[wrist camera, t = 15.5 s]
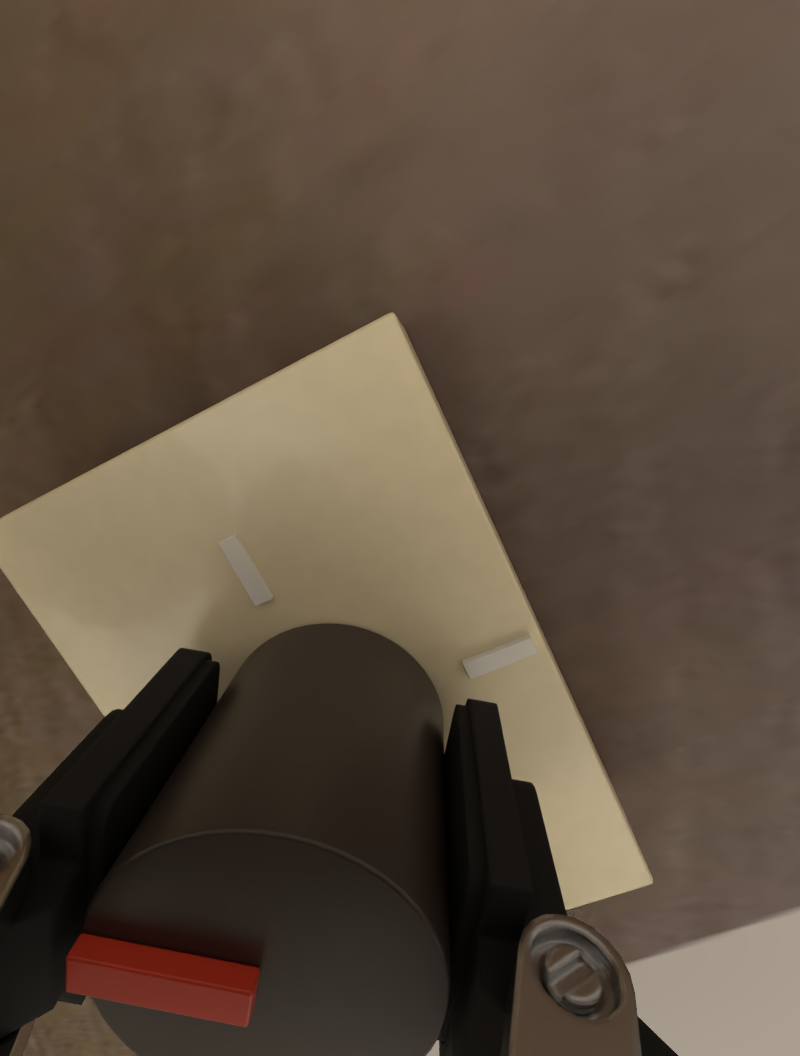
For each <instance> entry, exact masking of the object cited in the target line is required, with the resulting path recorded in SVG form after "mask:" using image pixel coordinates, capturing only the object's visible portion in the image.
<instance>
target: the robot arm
mask: <svg viewBox="0 0 800 1056" xmlns="http://www.w3.org/2000/svg"><path fill="white" fill-rule="evenodd" d="M219 674H220V664H219V662H216V661H212V656H211V654H210V653H209V652H204V651H198V650H192V649H187V648H180V649H178V650H177V651H176V652H175V653H174V655H173V656H172V657H171V658H170V659H169V660H168V661H167V662H166V663H165V664H164V666H163V667H162V668H161V669H160V670H159V671H158V672H157V673H156V674H155V675H154V677H153V678H152V679H151V680H150V681H149V682H148V683H147V684H146V685H145V686H144V688H143V689H142V690H141V691H140V692H139V693H138V694H137V695H136V696H135V697H134V699H133V700H132V701H131V702H130V703H129V704H128V705H127V706H126V707H125V709H124V710H122V709H115V710H112V711H111V712H110V713H109V714H108V715H106V716H105V717H104V718H103V720H102V721H101V722H100V723H99V724H98V725H97V726H96V727H95V728H94V729H93V730H92V731H91V732H90V733H89V734H88V735H87V737H86V738H85V739H84V740H83V741H82V742H81V743H80V744H79V745H78V746H77V747H76V748H75V749H74V750H73V751H72V752H71V754H70V755H69V756H68V757H67V758H66V759H65V760H64V761H63V762H62V763H61V764H60V765H59V766H58V767H57V768H56V769H55V770H54V772H53V773H52V774H51V775H50V776H49V777H48V778H47V779H46V780H45V781H44V782H43V783H42V784H41V785H40V786H39V787H38V789H37V790H36V791H35V792H34V793H33V794H32V795H31V796H30V797H29V798H28V799H27V800H26V801H25V802H24V803H23V804H22V806H21V807H20V808H19V809H18V810H17V811H16V812H15V813H14V814H13V815H12V816H11V815H5V814H0V1056H22V1055H23V1052H24V1050H25V1047H26V1045H27V1042H28V1039H29V1037H30V1034H31V1032H32V1029H33V1026H34V1021H35V1019H36V1018H38V1017H40V1016H41V1015H43V1014H45V1013H47V1012H48V1011H50V1010H52V1009H53V1008H54V1006H55V1005H56V1003H57V1001H62V1002H68V1003H73V1004H79V1005H82V1003H83V1001H84V999H85V997H86V996H84V995H79V994H74V993H69V992H67V991H66V990H65V980H66V956H67V955H68V953H69V951H70V950H71V948H72V947H73V945H74V943H75V942H76V940H77V939H78V937H79V935H80V934H81V927H82V923H83V920H84V916H85V913H86V910H87V907H88V905H89V903H90V901H91V899H92V897H93V896H94V894H95V892H96V890H97V889H98V887H99V885H100V884H101V882H102V881H103V879H104V878H105V876H106V875H107V873H108V872H109V870H110V868H111V867H112V865H113V864H114V862H115V861H116V859H117V858H118V856H119V854H120V853H121V851H122V850H123V848H124V847H125V845H126V844H127V842H128V841H129V839H130V837H131V836H132V834H133V833H134V831H135V830H136V828H137V827H138V825H139V823H140V822H141V820H142V819H143V817H144V816H145V814H146V813H147V811H148V810H149V808H150V806H151V805H152V803H153V802H154V800H155V799H156V797H157V796H158V794H159V792H160V791H161V789H162V788H163V786H164V785H165V783H166V782H167V780H168V778H169V777H170V775H171V774H172V772H173V771H174V769H175V768H176V766H177V765H178V763H179V761H180V760H181V758H182V757H183V755H184V754H185V752H186V751H187V749H188V747H189V746H190V744H191V743H192V741H193V740H194V738H195V737H196V735H197V734H198V732H199V730H200V729H201V727H202V726H203V724H204V723H205V721H206V720H207V718H208V716H209V715H210V713H211V712H212V710H213V709H214V707H215V706H216V704H217V699H218V686H219ZM444 758H445V789H446V820H447V851H448V882H449V913H450V944H451V975H452V987H451V1002H450V1007H449V1012H448V1016H447V1019H446V1021H445V1024H444V1026H443V1029H442V1031H441V1034H440V1036H439V1037H438V1039H437V1040H439V1046H440V1048H439V1052H440V1056H678V1055H677V1054H676V1053H675V1052H674V1051H673V1050H672V1049H671V1048H670V1047H669V1046H668V1045H667V1044H666V1043H665V1042H663V1041H662V1040H661V1039H660V1038H659V1037H658V1036H657V1035H656V1034H655V1033H654V1032H653V1031H652V1030H651V1029H650V1028H649V1027H648V1026H647V1025H646V1024H645V1023H644V1022H643V1021H642V1020H641V1019H640V1018H639V1017H638V1016H637V1008H636V1000H635V992H634V988H633V984H632V980H631V976H630V973H629V971H628V969H627V967H626V965H625V964H624V962H623V960H622V958H621V956H620V955H619V953H618V952H617V951H616V950H615V949H614V947H613V946H612V945H611V944H610V943H609V941H608V940H607V939H606V938H605V937H603V936H602V935H601V934H600V933H599V932H597V931H596V930H595V929H594V928H592V927H591V926H589V925H587V924H586V923H584V922H582V921H580V920H578V919H576V918H573V917H569V916H567V913H566V909H565V905H564V901H563V897H562V893H561V889H560V885H559V881H558V877H557V873H556V869H555V865H554V861H553V857H552V853H551V849H550V845H549V840H548V836H547V832H546V828H545V824H544V820H543V816H542V812H541V808H540V804H539V800H538V796H537V792H536V789H535V786H534V785H533V784H532V783H531V782H526V781H521V780H515V779H512V777H511V772H510V767H509V762H508V757H507V751H506V746H505V741H504V736H503V731H502V726H501V721H500V715H499V710H498V706H497V704H496V703H492V702H486V701H481V700H475V699H469V698H468V699H467V701H466V704H465V705H459V704H456V706H455V709H454V713H453V718H452V722H451V727H450V731H449V736H448V740H447V744H446V749H445V753H444Z"/></svg>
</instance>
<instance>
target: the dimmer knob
mask: <svg viewBox="0 0 800 1056" xmlns="http://www.w3.org/2000/svg"><path fill="white" fill-rule="evenodd" d="M451 987H452V975H451V944H450V913H449V882H448V851H447V820H446V789H445V758H444V727H443V714H442V707H441V703H440V700H439V696H438V693H437V691H436V689H435V687H434V685H433V683H432V681H431V679H430V678H429V676H428V675H427V673H426V671H425V670H424V669H423V668H422V667H421V665H420V664H419V663H418V662H417V661H416V660H415V659H414V658H413V657H412V656H411V655H410V654H409V653H408V652H407V651H406V650H404V649H403V648H402V647H400V646H399V645H397V644H396V643H394V642H393V641H391V640H389V639H387V638H385V637H384V636H382V635H380V634H377V633H375V632H372V631H369V630H367V629H363V628H359V627H356V626H352V625H344V624H332V623H321V624H312V625H306V626H301V627H297V628H293V629H290V630H288V631H285V632H282V633H280V634H278V635H276V636H274V637H273V638H271V639H269V640H267V641H266V642H265V643H263V644H262V645H260V646H259V647H258V648H257V649H256V650H255V651H254V652H253V653H252V654H251V655H249V656H248V658H247V659H246V660H245V662H244V663H243V664H242V666H241V667H240V668H239V670H238V672H237V673H236V675H235V676H234V678H233V679H232V681H231V682H230V684H229V685H228V687H227V689H226V690H225V692H224V693H223V695H222V696H221V698H220V699H219V701H218V703H217V704H216V706H215V707H214V709H213V710H212V712H211V713H210V715H209V716H208V718H207V720H206V721H205V723H204V724H203V726H202V727H201V729H200V730H199V732H198V734H197V735H196V737H195V738H194V740H193V741H192V743H191V744H190V746H189V747H188V749H187V751H186V752H185V754H184V755H183V757H182V758H181V760H180V761H179V763H178V765H177V766H176V768H175V769H174V771H173V772H172V774H171V775H170V777H169V778H168V780H167V782H166V783H165V785H164V786H163V788H162V789H161V791H160V792H159V794H158V796H157V797H156V799H155V800H154V802H153V803H152V805H151V806H150V808H149V810H148V811H147V813H146V814H145V816H144V817H143V819H142V820H141V822H140V823H139V825H138V827H137V828H136V830H135V831H134V833H133V834H132V836H131V837H130V839H129V841H128V842H127V844H126V845H125V847H124V848H123V850H122V851H121V853H120V854H119V856H118V858H117V859H116V861H115V862H114V864H113V865H112V867H111V868H110V870H109V872H108V873H107V875H106V876H105V878H104V879H103V881H102V882H101V884H100V885H99V887H98V889H97V890H96V892H95V894H94V896H93V897H92V899H91V901H90V903H89V905H88V907H87V910H86V913H85V916H84V920H83V923H82V927H81V934H80V935H79V937H78V939H77V940H76V942H75V943H74V945H73V947H72V948H71V950H70V951H69V953H68V955H67V956H66V980H65V990H66V991H67V992H69V993H74V994H79V995H84V996H90V998H91V1000H92V1002H93V1003H94V1005H95V1007H96V1009H97V1010H98V1012H99V1014H100V1015H101V1017H102V1018H103V1020H104V1021H105V1022H106V1023H107V1025H108V1026H109V1027H110V1029H111V1030H112V1031H113V1033H114V1034H115V1035H116V1036H117V1037H118V1038H119V1039H120V1040H121V1041H122V1042H123V1043H124V1044H125V1045H126V1046H127V1047H128V1048H129V1049H131V1050H132V1051H133V1052H134V1053H135V1054H137V1055H138V1056H426V1055H427V1054H428V1053H429V1051H430V1050H431V1049H432V1047H433V1045H434V1044H435V1042H436V1041H437V1039H438V1037H439V1036H440V1034H441V1031H442V1029H443V1026H444V1024H445V1021H446V1019H447V1016H448V1012H449V1007H450V1002H451Z"/></svg>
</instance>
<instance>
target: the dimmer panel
mask: <svg viewBox="0 0 800 1056" xmlns="http://www.w3.org/2000/svg"><path fill="white" fill-rule="evenodd" d="M0 568H1V570H2V571H3V573H4V574H5V576H6V577H7V578H8V580H9V581H10V583H11V584H12V586H13V587H14V588H15V590H16V591H17V593H18V594H19V596H20V597H21V598H22V600H23V601H24V603H25V604H26V606H27V607H28V608H29V610H30V611H31V613H32V614H33V616H34V617H35V618H36V620H37V621H38V623H39V624H40V626H41V627H42V628H43V630H44V631H45V633H46V634H47V635H48V637H49V638H50V640H51V641H52V643H53V644H54V645H55V647H56V648H57V650H58V651H59V653H60V654H61V655H62V657H63V658H64V660H65V661H66V663H67V664H68V665H69V667H70V668H71V670H72V671H73V673H74V674H75V675H76V677H77V678H78V680H79V681H80V683H81V684H82V685H83V687H84V688H85V690H86V691H87V693H88V694H89V695H90V697H91V698H92V700H93V701H94V703H95V704H96V705H97V707H98V708H99V710H100V711H101V713H102V714H103V715H104V717H105V716H106V715H108V714H109V713H110V712H111V711H112V710H115V709H122V710H124V709H125V707H126V706H127V705H128V704H129V703H130V702H131V701H132V700H133V699H134V697H135V696H136V695H137V694H138V693H139V692H140V691H141V690H142V689H143V688H144V686H145V685H146V684H147V683H148V682H149V681H150V680H151V679H152V678H153V677H154V675H155V674H156V673H157V672H158V671H159V670H160V669H161V668H162V667H163V666H164V664H165V663H166V662H167V661H168V660H169V659H170V658H171V657H172V656H173V655H174V653H175V652H176V651H177V650H178V649H180V648H187V649H192V650H198V651H204V652H209V653H210V654H211V656H212V661H216V662H219V664H220V674H219V686H218V699H217V703H218V701H219V699H220V698H221V696H222V695H223V693H224V692H225V690H226V689H227V687H228V685H229V684H230V682H231V681H232V679H233V678H234V676H235V675H236V673H237V672H238V670H239V668H240V667H241V666H242V664H243V663H244V662H245V660H246V659H247V658H248V656H249V655H251V654H252V653H253V652H254V651H255V650H256V649H257V648H258V647H259V646H260V645H262V644H263V643H265V642H266V641H267V640H269V639H271V638H273V637H274V636H276V635H278V634H280V633H282V632H285V631H288V630H290V629H293V628H297V627H301V626H306V625H312V624H321V623H332V624H344V625H352V626H356V627H359V628H363V629H367V630H369V631H372V632H375V633H377V634H380V635H382V636H384V637H385V638H387V639H389V640H391V641H393V642H394V643H396V644H397V645H399V646H400V647H402V648H403V649H404V650H406V651H407V652H408V653H409V654H410V655H411V656H412V657H413V658H414V659H415V660H416V661H417V662H418V663H419V664H420V665H421V667H422V668H423V669H424V670H425V671H426V673H427V675H428V676H429V678H430V679H431V681H432V683H433V685H434V687H435V689H436V691H437V693H438V696H439V700H440V703H441V707H442V714H443V727H444V753H445V749H446V744H447V740H448V736H449V731H450V727H451V722H452V718H453V713H454V709H455V706H456V704H459V705H465V704H466V701H467V699H468V698H469V699H475V700H481V701H486V702H492V703H496V704H497V706H498V710H499V715H500V721H501V726H502V731H503V736H504V741H505V746H506V751H507V757H508V762H509V767H510V772H511V777H512V779H515V780H521V781H526V782H531V783H532V784H533V785H534V786H535V789H536V792H537V796H538V800H539V804H540V808H541V812H542V816H543V820H544V824H545V828H546V832H547V836H548V840H549V845H550V849H551V853H552V857H553V861H554V865H555V869H556V873H557V877H558V881H559V885H560V889H561V893H562V897H563V901H564V905H565V909H566V910H568V909H572V908H575V907H578V906H581V905H585V904H588V903H591V902H595V901H598V900H601V899H605V898H608V897H611V896H614V895H618V894H621V893H624V892H628V891H631V890H634V889H638V888H641V887H644V886H647V885H651V884H652V883H653V878H652V876H651V873H650V871H649V869H648V866H647V864H646V862H645V859H644V857H643V855H642V852H641V850H640V848H639V846H638V843H637V841H636V839H635V836H634V834H633V832H632V829H631V827H630V825H629V823H628V820H627V818H626V816H625V813H624V811H623V809H622V806H621V804H620V802H619V799H618V797H617V795H616V793H615V790H614V788H613V786H612V783H611V781H610V779H609V777H608V775H607V772H606V770H605V768H604V766H603V764H602V761H601V759H600V757H599V755H598V753H597V750H596V748H595V746H594V744H593V742H592V739H591V737H590V735H589V733H588V731H587V728H586V726H585V724H584V722H583V720H582V718H581V715H580V713H579V711H578V709H577V707H576V704H575V702H574V700H573V698H572V696H571V693H570V691H569V689H568V687H567V685H566V682H565V680H564V678H563V676H562V674H561V671H560V669H559V667H558V665H557V663H556V660H555V658H554V656H553V654H552V652H551V649H550V647H549V645H548V643H547V641H546V638H545V636H544V634H543V632H542V630H541V627H540V625H539V623H538V621H537V619H536V616H535V614H534V612H533V610H532V608H531V605H530V603H529V601H528V599H527V597H526V594H525V592H524V590H523V588H522V586H521V583H520V581H519V579H518V577H517V575H516V572H515V570H514V568H513V566H512V564H511V562H510V559H509V557H508V555H507V553H506V551H505V548H504V546H503V544H502V542H501V540H500V537H499V535H498V533H497V531H496V529H495V526H494V524H493V522H492V520H491V518H490V515H489V513H488V511H487V509H486V507H485V504H484V502H483V500H482V498H481V496H480V493H479V491H478V489H477V487H476V485H475V482H474V480H473V478H472V476H471V474H470V471H469V469H468V467H467V465H466V463H465V460H464V458H463V456H462V454H461V452H460V449H459V447H458V445H457V443H456V441H455V438H454V436H453V434H452V432H451V430H450V427H449V425H448V423H447V421H446V419H445V416H444V414H443V412H442V410H441V408H440V405H439V403H438V401H437V399H436V397H435V395H434V392H433V390H432V388H431V386H430V384H429V381H428V379H427V377H426V375H425V373H424V370H423V368H422V366H421V364H420V362H419V359H418V357H417V355H416V353H415V351H414V348H413V346H412V344H411V342H410V340H409V337H408V335H407V333H406V331H405V329H404V327H403V325H402V324H401V322H400V321H399V319H398V318H397V316H396V315H395V314H394V313H393V312H391V313H388V314H386V315H384V316H382V317H380V318H378V319H376V320H375V321H373V322H371V323H369V324H367V325H365V326H363V327H361V328H359V329H357V330H356V331H354V332H352V333H350V334H348V335H346V336H344V337H342V338H340V339H338V340H337V341H335V342H333V343H331V344H329V345H327V346H325V347H323V348H321V349H320V350H318V351H316V352H314V353H312V354H310V355H308V356H306V357H304V358H302V359H301V360H299V361H297V362H295V363H293V364H291V365H289V366H287V367H285V368H283V369H282V370H280V371H278V372H276V373H274V374H272V375H270V376H268V377H266V378H264V379H263V380H261V381H259V382H257V383H255V384H253V385H251V386H249V387H247V388H245V389H244V390H242V391H240V392H238V393H236V394H234V395H232V396H230V397H228V398H226V399H225V400H223V401H221V402H219V403H217V404H215V405H213V406H211V407H209V408H208V409H206V410H204V411H202V412H200V413H198V414H196V415H194V416H192V417H190V418H189V419H187V420H185V421H183V422H181V423H179V424H177V425H175V426H173V427H171V428H170V429H168V430H166V431H164V432H162V433H160V434H158V435H156V436H154V437H152V438H151V439H149V440H147V441H145V442H143V443H141V444H139V445H137V446H135V447H133V448H132V449H130V450H128V451H126V452H124V453H122V454H120V455H118V456H116V457H115V458H113V459H111V460H109V461H107V462H105V463H103V464H101V465H99V466H97V467H96V468H94V469H92V470H90V471H88V472H86V473H84V474H82V475H80V476H78V477H77V478H75V479H73V480H71V481H69V482H67V483H65V484H63V485H61V486H59V487H58V488H56V489H54V490H52V491H50V492H48V493H46V494H44V495H42V496H40V497H39V498H37V499H35V500H33V501H31V502H29V503H27V504H25V505H23V506H21V507H20V508H18V509H16V510H14V511H12V512H10V513H8V514H6V515H4V516H3V517H1V518H0Z"/></svg>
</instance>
